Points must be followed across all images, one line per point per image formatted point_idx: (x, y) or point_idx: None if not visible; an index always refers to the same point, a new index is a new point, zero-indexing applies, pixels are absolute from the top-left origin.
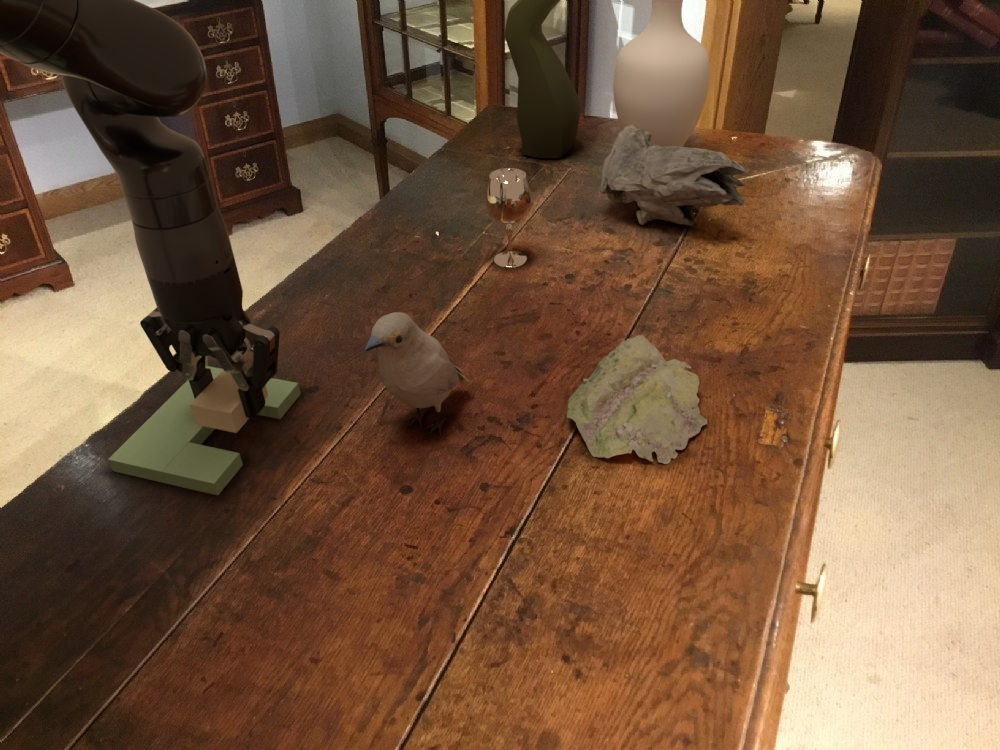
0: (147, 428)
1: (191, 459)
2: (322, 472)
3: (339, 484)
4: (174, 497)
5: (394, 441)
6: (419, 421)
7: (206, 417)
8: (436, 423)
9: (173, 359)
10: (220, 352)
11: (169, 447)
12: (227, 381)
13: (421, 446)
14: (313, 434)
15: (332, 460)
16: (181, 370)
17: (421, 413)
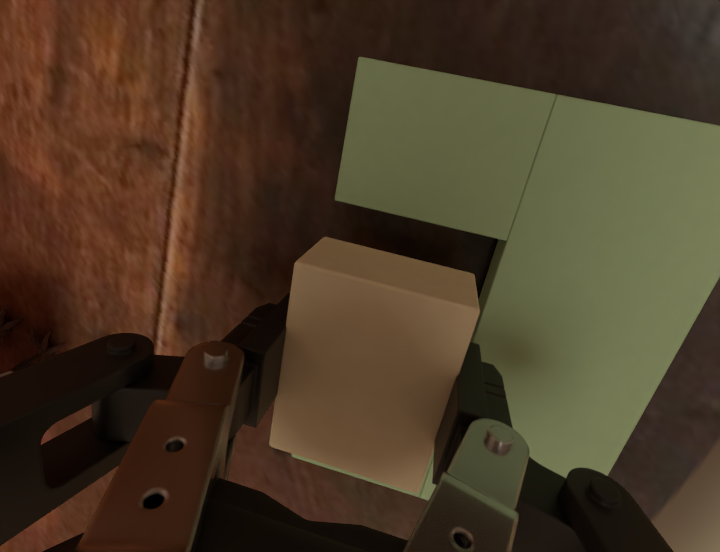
0: (673, 300)
1: (470, 161)
2: (151, 179)
3: (99, 141)
4: (498, 40)
5: (59, 284)
6: (33, 337)
7: (417, 274)
8: (1, 330)
9: (587, 538)
10: (123, 518)
11: (564, 213)
12: (378, 430)
13: (6, 270)
14: (224, 305)
15: (148, 221)
16: (545, 475)
17: (40, 359)
